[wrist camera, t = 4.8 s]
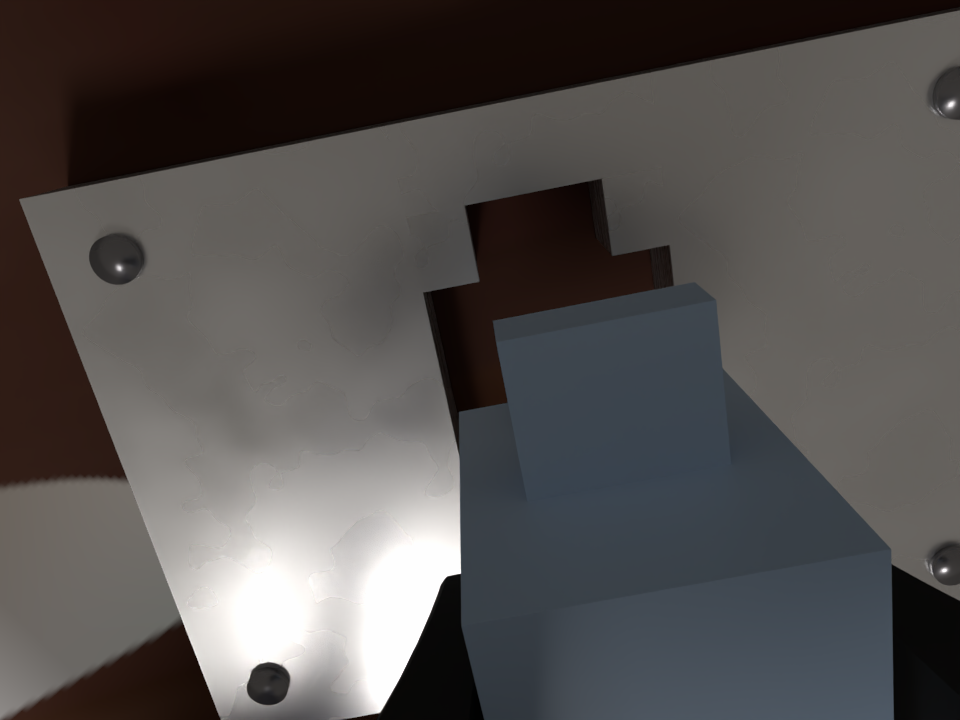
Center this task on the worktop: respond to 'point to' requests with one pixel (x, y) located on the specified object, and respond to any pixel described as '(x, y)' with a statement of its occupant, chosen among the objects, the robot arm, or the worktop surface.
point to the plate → (452, 262)
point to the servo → (657, 535)
